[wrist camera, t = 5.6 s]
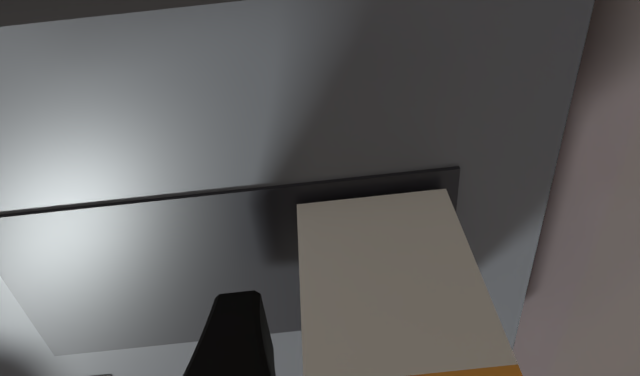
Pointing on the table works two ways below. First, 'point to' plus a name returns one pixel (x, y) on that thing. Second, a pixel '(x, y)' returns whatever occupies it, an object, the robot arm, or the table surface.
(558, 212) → the table surface
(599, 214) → the table surface
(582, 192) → the table surface
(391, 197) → the block
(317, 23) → the breaker panel
